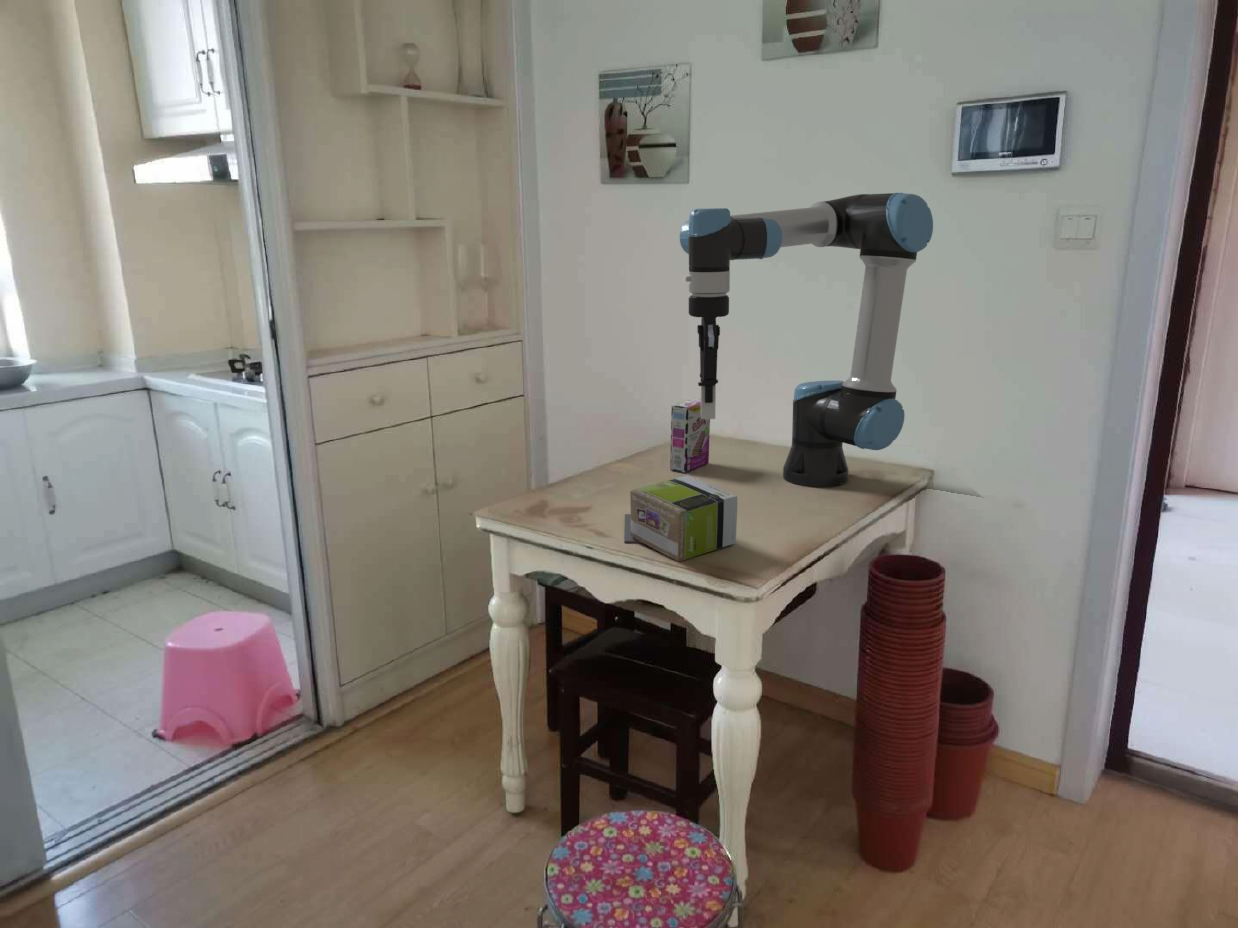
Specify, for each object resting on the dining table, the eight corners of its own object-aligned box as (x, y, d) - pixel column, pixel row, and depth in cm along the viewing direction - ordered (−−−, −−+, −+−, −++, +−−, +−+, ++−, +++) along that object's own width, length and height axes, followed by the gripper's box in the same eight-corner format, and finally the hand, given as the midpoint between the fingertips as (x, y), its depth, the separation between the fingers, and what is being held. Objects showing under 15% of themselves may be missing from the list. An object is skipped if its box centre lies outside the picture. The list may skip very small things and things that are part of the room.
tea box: (687, 520, 185) (628, 536, 177) (688, 473, 182) (628, 488, 174) (737, 544, 173) (676, 563, 165) (739, 495, 170) (677, 511, 162)
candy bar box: (687, 474, 220) (687, 407, 216) (669, 471, 223) (669, 405, 219) (710, 463, 229) (711, 399, 225) (693, 460, 232) (694, 397, 228)
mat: (691, 515, 191) (691, 513, 190) (697, 542, 175) (697, 540, 175) (624, 515, 191) (624, 514, 191) (624, 542, 175) (624, 540, 175)
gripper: (686, 291, 176) (686, 411, 182) (690, 298, 163) (690, 426, 170) (725, 290, 176) (724, 410, 182) (732, 297, 163) (730, 425, 170)
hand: (707, 418), depth 176 cm, fingers closed
